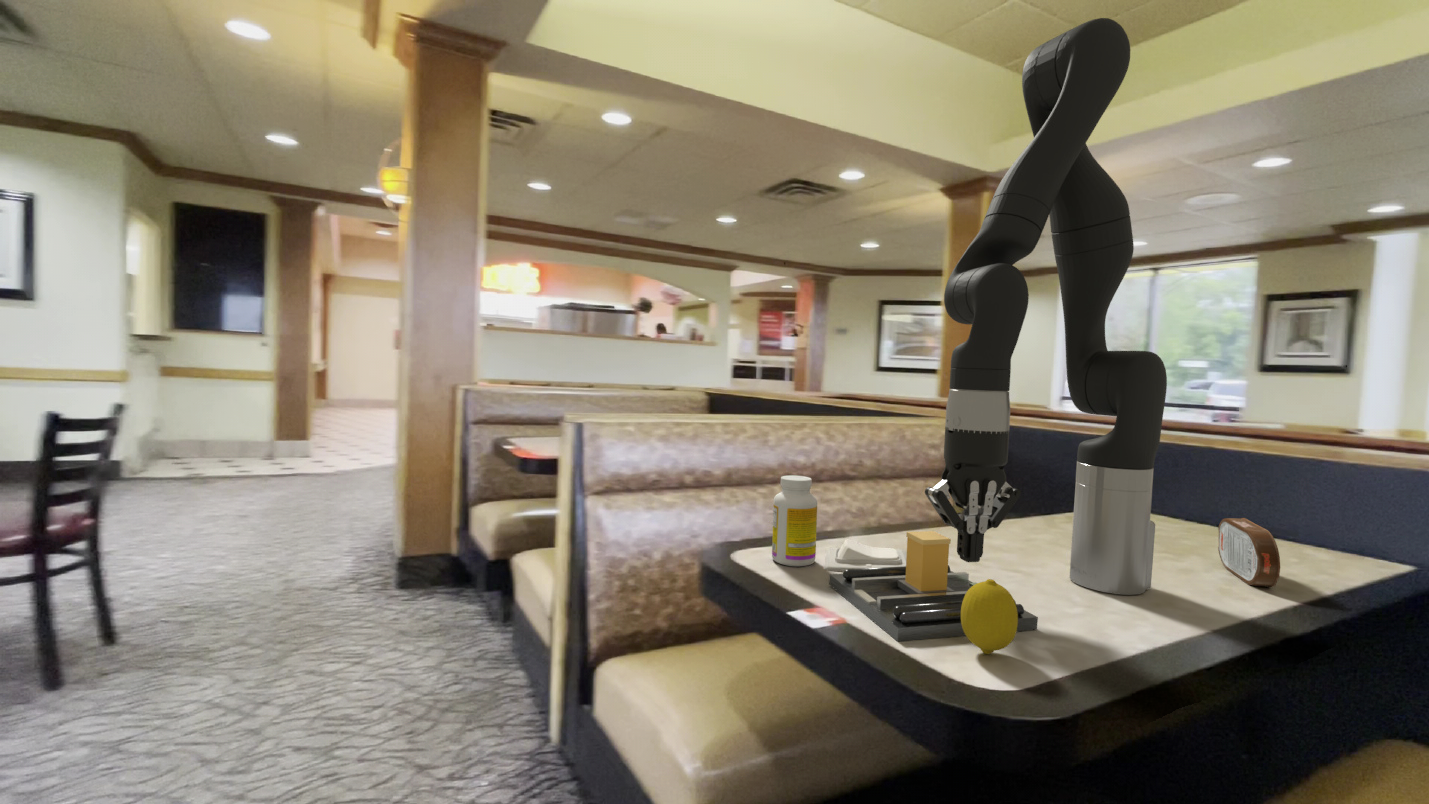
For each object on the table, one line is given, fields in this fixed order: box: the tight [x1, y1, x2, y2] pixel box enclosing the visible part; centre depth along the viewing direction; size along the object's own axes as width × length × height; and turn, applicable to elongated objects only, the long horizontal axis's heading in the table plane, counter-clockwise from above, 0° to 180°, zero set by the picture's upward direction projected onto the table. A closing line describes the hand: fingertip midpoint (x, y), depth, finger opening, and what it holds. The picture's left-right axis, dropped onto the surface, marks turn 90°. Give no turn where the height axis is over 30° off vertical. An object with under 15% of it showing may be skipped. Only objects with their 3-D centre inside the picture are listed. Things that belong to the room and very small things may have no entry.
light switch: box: [823, 538, 907, 573], centre depth 98 cm, size 11×4×13 cm
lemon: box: [961, 578, 1018, 655], centre depth 67 cm, size 6×6×8 cm
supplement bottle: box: [771, 474, 818, 567], centre depth 97 cm, size 7×7×13 cm
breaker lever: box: [898, 530, 955, 595], centre depth 80 cm, size 5×5×7 cm
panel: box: [828, 564, 1039, 642], centre depth 80 cm, size 18×18×3 cm
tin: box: [1217, 517, 1281, 588], centre depth 96 cm, size 15×3×8 cm, turn 160°
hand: (969, 560), depth 82 cm, fingers closed
